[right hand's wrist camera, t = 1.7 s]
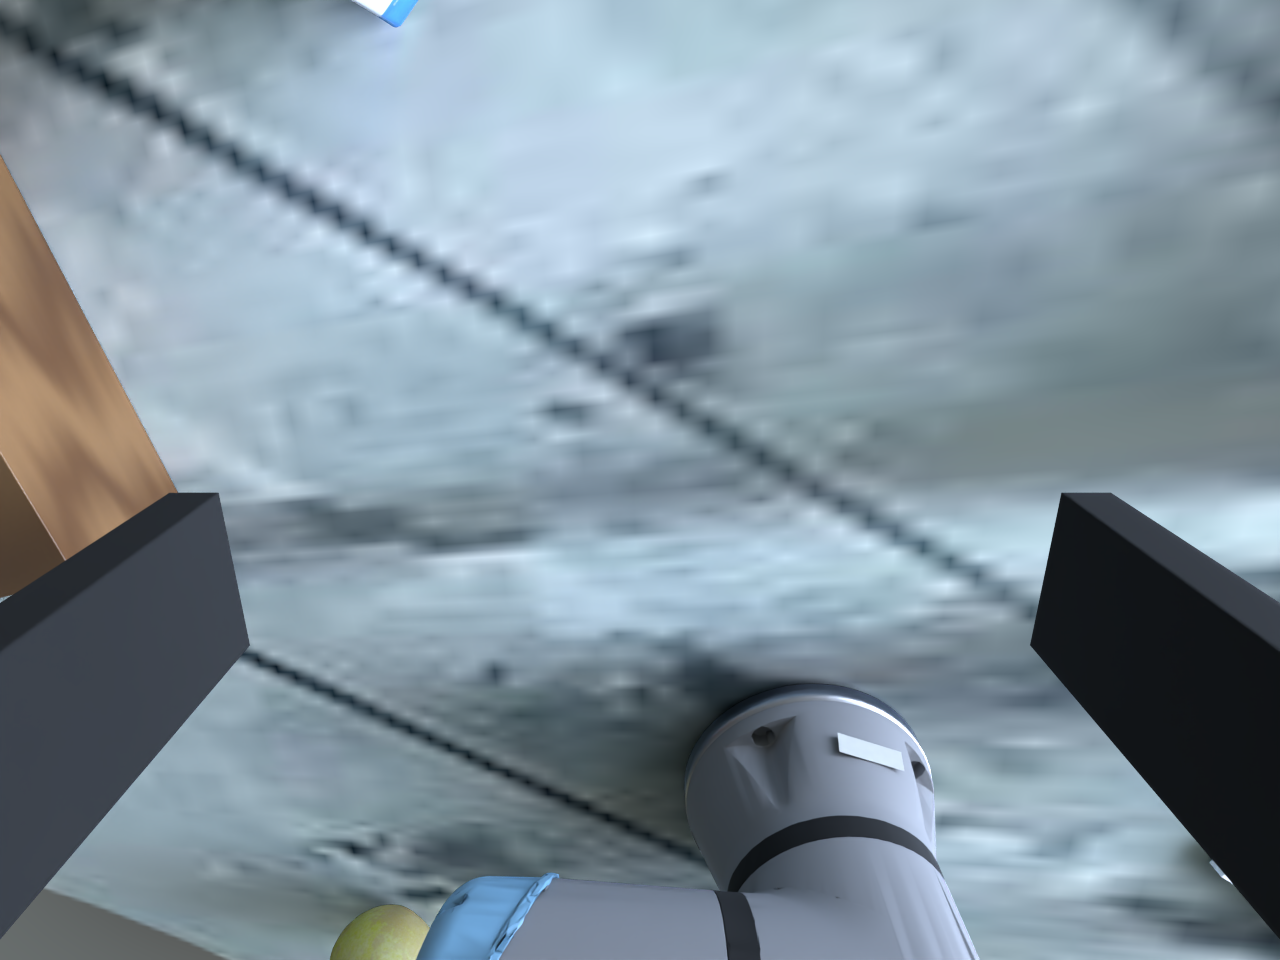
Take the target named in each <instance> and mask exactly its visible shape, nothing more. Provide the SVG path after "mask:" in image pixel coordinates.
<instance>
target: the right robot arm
mask: <svg viewBox="0 0 1280 960" xmlns="http://www.w3.org/2000/svg"><path fill="white" fill-rule="evenodd" d="M249 646H250V644H249V639H248V634H247V629H246V624H245V619H244V614H243V610H242V605H241V600H240V595H239V590H238V585H237V580H236V576H235V571H234V566H233V561H232V556H231V551H230V546H229V542H228V537H227V532H226V527H225V522H224V517H223V512H222V508H221V503H220V498H219V493H168V494H167V495H165V496H164V497H162V498H161V499H159V500H157V501H156V502H154V503H153V504H151V505H150V506H148V507H147V508H145V509H144V510H142V511H141V512H139V513H138V514H136V515H134V516H133V517H131V518H130V519H128V520H127V521H125V522H124V523H122V524H121V525H119V526H118V527H116V528H115V529H113V530H111V531H110V532H108V533H107V534H105V535H104V536H102V537H101V538H99V539H98V540H96V541H95V542H93V543H92V544H90V545H88V546H87V547H85V548H84V549H82V550H81V551H79V552H78V553H76V554H75V555H73V556H72V557H70V558H69V559H67V560H65V561H64V562H62V563H61V564H59V565H58V566H56V567H55V568H53V569H52V570H50V571H49V572H47V573H46V574H44V575H42V576H41V577H39V578H38V579H36V580H35V581H33V582H32V583H30V584H29V585H27V586H26V587H24V588H23V589H21V590H20V591H18V592H16V593H15V594H13V595H12V596H10V597H9V598H7V599H6V600H4V601H3V602H1V603H0V939H1V938H2V936H3V935H4V934H5V933H6V932H7V931H8V929H9V928H10V927H11V926H12V925H13V924H14V922H15V921H16V920H17V919H18V918H19V916H20V915H21V914H22V913H23V912H24V911H25V909H26V908H27V907H28V906H29V905H30V903H31V902H32V901H33V900H34V899H35V898H36V896H37V895H38V894H39V893H40V892H41V890H42V889H43V888H44V887H45V886H46V885H47V883H48V882H49V881H50V880H51V879H52V878H53V876H54V875H55V874H56V873H57V872H58V871H59V869H60V868H61V867H62V866H63V865H64V863H65V862H66V861H67V860H68V859H69V858H70V856H71V855H72V854H73V853H74V852H75V850H76V849H77V848H78V847H79V846H80V845H81V843H82V842H83V841H84V840H85V839H86V838H87V836H88V835H89V834H90V833H91V832H92V830H93V829H94V828H95V827H96V826H97V825H98V823H99V822H100V821H101V820H102V819H103V818H104V816H105V815H106V814H107V813H108V812H109V810H110V809H111V808H112V807H113V806H114V805H115V803H116V802H117V801H118V800H119V799H120V797H121V796H122V795H123V794H124V793H125V792H126V790H127V789H128V788H129V787H130V786H131V785H132V783H133V782H134V781H135V780H136V779H137V777H138V776H139V775H140V774H141V773H142V772H143V770H144V769H145V768H146V767H147V766H148V765H149V763H150V762H151V761H152V760H153V759H154V757H155V756H156V755H157V754H158V753H159V752H160V750H161V749H162V748H163V747H164V746H165V744H166V743H167V742H168V741H169V740H170V739H171V737H172V736H173V735H174V734H175V733H176V732H177V730H178V729H179V728H180V727H181V726H182V724H183V723H184V722H185V721H186V720H187V719H188V717H189V716H190V715H191V714H192V713H193V712H194V710H195V709H196V708H197V707H198V706H199V704H200V703H201V702H202V701H203V700H204V699H205V697H206V696H207V695H208V694H209V693H210V691H211V690H212V689H213V688H214V687H215V686H216V684H217V683H218V682H219V681H220V680H221V679H222V677H223V676H224V675H225V674H226V673H227V671H228V670H229V669H230V668H231V667H232V666H233V664H234V663H235V662H236V661H237V660H238V659H239V657H240V656H241V655H242V654H243V653H244V651H245V650H246V649H247V648H248V647H249ZM1030 646H1031V647H1032V648H1033V649H1034V650H1035V651H1036V653H1037V654H1038V655H1039V656H1040V657H1041V659H1042V660H1043V661H1044V662H1045V663H1046V664H1047V666H1048V667H1049V668H1050V669H1051V670H1052V671H1053V673H1054V674H1055V675H1056V676H1057V677H1058V679H1059V680H1060V681H1061V682H1062V683H1063V684H1064V686H1065V687H1066V688H1067V689H1068V690H1069V691H1070V693H1071V694H1072V695H1073V696H1074V697H1075V699H1076V700H1077V701H1078V702H1079V703H1080V704H1081V706H1082V707H1083V708H1084V709H1085V710H1086V712H1087V713H1088V714H1089V715H1090V716H1091V717H1092V719H1093V720H1094V721H1095V722H1096V723H1097V724H1098V726H1099V727H1100V728H1101V729H1102V730H1103V732H1104V733H1105V734H1106V735H1107V736H1108V737H1109V739H1110V740H1111V741H1112V742H1113V743H1114V744H1115V746H1116V747H1117V748H1118V749H1119V750H1120V752H1121V753H1122V754H1123V755H1124V756H1125V757H1126V759H1127V760H1128V761H1129V762H1130V763H1131V765H1132V766H1133V767H1134V768H1135V769H1136V770H1137V772H1138V773H1139V774H1140V775H1141V776H1142V777H1143V779H1144V780H1145V781H1146V782H1147V783H1148V785H1149V786H1150V787H1151V788H1152V789H1153V790H1154V792H1155V793H1156V794H1157V795H1158V796H1159V797H1160V799H1161V800H1162V801H1163V802H1164V803H1165V805H1166V806H1167V807H1168V808H1169V809H1170V810H1171V812H1172V813H1173V814H1174V815H1175V816H1176V818H1177V819H1178V820H1179V821H1180V822H1181V823H1182V825H1183V826H1184V827H1185V828H1186V829H1187V830H1188V832H1189V833H1190V834H1191V835H1192V836H1193V838H1194V839H1195V840H1196V841H1197V842H1198V843H1199V845H1200V846H1201V847H1202V848H1203V849H1204V850H1205V852H1206V853H1207V854H1208V855H1209V856H1210V858H1211V859H1212V860H1213V861H1214V862H1215V863H1216V865H1217V866H1218V867H1219V868H1220V869H1221V871H1222V872H1223V873H1224V874H1225V875H1226V876H1227V878H1228V879H1229V880H1230V881H1231V882H1232V883H1233V885H1234V886H1235V887H1236V888H1237V889H1238V891H1239V892H1240V893H1241V894H1242V895H1243V896H1244V898H1245V899H1246V900H1247V901H1248V902H1249V903H1250V905H1251V906H1252V907H1253V908H1254V909H1255V911H1256V912H1257V913H1258V914H1259V915H1260V916H1261V918H1262V919H1263V920H1264V921H1265V922H1266V924H1267V925H1268V926H1269V927H1270V928H1271V929H1272V931H1273V932H1274V933H1275V934H1276V935H1277V936H1278V938H1279V939H1280V603H1279V602H1277V601H1276V600H1274V599H1273V598H1271V597H1270V596H1268V595H1267V594H1265V593H1264V592H1262V591H1260V590H1259V589H1257V588H1256V587H1254V586H1253V585H1251V584H1250V583H1248V582H1247V581H1245V580H1244V579H1242V578H1241V577H1239V576H1237V575H1236V574H1234V573H1233V572H1231V571H1230V570H1228V569H1227V568H1225V567H1224V566H1222V565H1221V564H1219V563H1218V562H1216V561H1215V560H1213V559H1211V558H1210V557H1208V556H1207V555H1205V554H1204V553H1202V552H1201V551H1199V550H1198V549H1196V548H1195V547H1193V546H1192V545H1190V544H1188V543H1187V542H1185V541H1184V540H1182V539H1181V538H1179V537H1178V536H1176V535H1175V534H1173V533H1172V532H1170V531H1169V530H1167V529H1165V528H1164V527H1162V526H1161V525H1159V524H1158V523H1156V522H1155V521H1153V520H1152V519H1150V518H1149V517H1147V516H1146V515H1144V514H1142V513H1141V512H1139V511H1138V510H1136V509H1135V508H1133V507H1132V506H1130V505H1129V504H1127V503H1126V502H1124V501H1123V500H1121V499H1119V498H1118V497H1116V496H1115V495H1113V494H1112V493H1061V498H1060V503H1059V508H1058V512H1057V517H1056V522H1055V527H1054V532H1053V537H1052V542H1051V546H1050V551H1049V556H1048V561H1047V566H1046V571H1045V576H1044V580H1043V585H1042V590H1041V595H1040V600H1039V605H1038V610H1037V614H1036V619H1035V624H1034V629H1033V634H1032V639H1031V644H1030ZM684 791H685V805H686V815H687V820H688V823H689V826H690V829H691V832H692V835H693V838H694V840H695V842H696V844H697V846H698V848H699V849H700V851H701V853H702V855H703V857H704V859H705V861H706V863H707V865H708V868H709V870H710V872H711V874H712V876H713V878H714V880H715V882H716V884H717V886H718V888H719V890H720V891H714V890H704V889H690V888H677V887H664V886H652V885H639V884H626V883H613V882H601V881H588V880H575V879H563V878H559V874H556V873H546V874H544V875H543V876H542V877H508V876H484V877H479V878H475V879H472V880H470V881H468V882H466V883H465V884H463V885H462V886H460V887H459V888H458V889H457V890H456V891H455V892H453V893H452V894H451V896H450V897H449V898H448V899H447V900H446V902H445V903H444V904H443V906H442V908H441V909H440V911H439V912H438V914H437V916H436V918H435V920H434V921H433V923H432V925H431V927H430V929H429V931H428V933H427V935H426V937H425V940H424V942H423V944H422V946H421V949H420V951H419V953H418V956H417V958H416V960H980V959H979V957H978V955H977V952H976V950H975V948H974V946H973V943H972V941H971V939H970V936H969V934H968V932H967V930H966V927H965V925H964V923H963V920H962V918H961V916H960V914H959V911H958V909H957V907H956V904H955V902H954V900H953V897H952V895H951V893H950V891H949V888H948V886H947V884H946V882H945V879H944V877H943V875H942V872H941V870H940V868H939V865H938V863H937V860H936V838H935V809H934V789H933V782H932V776H931V771H930V767H929V764H928V761H927V759H926V757H925V754H924V752H923V750H922V748H921V746H920V744H919V742H918V740H917V738H916V736H915V734H914V732H913V731H912V729H911V728H910V726H909V725H908V724H907V723H906V721H905V720H904V719H903V718H902V717H901V716H900V715H899V714H898V713H897V712H896V711H894V710H893V709H892V708H891V707H889V706H888V705H886V704H885V703H883V702H882V701H880V700H878V699H876V698H874V697H872V696H870V695H868V694H866V693H863V692H860V691H858V690H854V689H850V688H847V687H842V686H836V685H828V684H797V685H790V686H784V687H780V688H775V689H771V690H768V691H765V692H762V693H759V694H757V695H754V696H752V697H749V698H748V699H746V700H744V701H742V702H740V703H738V704H736V705H735V706H733V707H731V708H730V709H728V710H727V711H726V712H724V713H723V714H722V715H720V716H719V717H718V718H717V719H716V720H715V721H714V722H713V723H712V724H711V725H710V726H709V727H708V728H707V729H706V730H705V731H704V733H703V734H702V735H701V737H700V738H699V739H698V741H697V743H696V745H695V746H694V748H693V750H692V752H691V755H690V757H689V760H688V763H687V766H686V771H685V779H684Z"/></svg>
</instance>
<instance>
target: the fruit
mask: <svg viewBox="0 0 1280 960" xmlns="http://www.w3.org/2000/svg"><path fill="white" fill-rule="evenodd" d="M429 929H430V928H429V926H428V925H427V924H426V923H425V922H424V921H423V920H422V919H421V918H420V917H419V916H418V915H417V914H415V913H414V912H413V911H411V910H410V909H408V908H406V907H404V906H400V905H382V906H378V907H375V908H372V909H370V910H368V911H366V912H364V913H362V914H361V915H359V916H358V917H356V918H355V919H354V920H353V921H352V922H351V923H350V924H349V925H348V926H347V927H346V928H345V929H344V930H343V931H342V933H341V934H340V936H339V938H338V939H337V941H336V943H335V945H334V947H333V950H332V953H331V957H330V960H416V958H417V956H418V953H419V951H420V949H421V946H422V944H423V942H424V940H425V937H426V935H427V933H428V931H429Z"/></svg>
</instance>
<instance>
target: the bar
mask: <svg viewBox="0 0 1280 960" xmlns="http://www.w3.org/2000/svg"><path fill="white" fill-rule="evenodd" d="M168 493H178V492H177V490H176V488H175V486H174V484H173V483H172V481H171V479H170V477H169V475H168V473H167V471H166V469H165V467H164V465H163V463H162V462H161V460H160V458H159V456H158V454H157V452H156V450H155V448H154V446H153V444H152V443H151V441H150V439H149V437H148V435H147V433H146V431H145V429H144V427H143V425H142V424H141V422H140V420H139V418H138V416H137V414H136V412H135V410H134V408H133V406H132V404H131V403H130V401H129V399H128V397H127V395H126V393H125V391H124V389H123V387H122V385H121V384H120V382H119V380H118V378H117V376H116V374H115V372H114V370H113V368H112V366H111V364H110V363H109V361H108V359H107V357H106V355H105V353H104V351H103V349H102V347H101V345H100V344H99V342H98V340H97V338H96V336H95V334H94V332H93V330H92V328H91V326H90V325H89V323H88V321H87V319H86V317H85V315H84V313H83V311H82V309H81V307H80V305H79V304H78V302H77V300H76V298H75V296H74V294H73V292H72V290H71V288H70V286H69V285H68V283H67V281H66V279H65V277H64V275H63V273H62V271H61V269H60V267H59V265H58V264H57V262H56V260H55V258H54V256H53V254H52V252H51V250H50V248H49V246H48V245H47V243H46V241H45V239H44V237H43V235H42V233H41V231H40V229H39V227H38V226H37V224H36V222H35V220H34V218H33V216H32V214H31V212H30V210H29V208H28V206H27V205H26V203H25V201H24V199H23V197H22V195H21V193H20V191H19V189H18V187H17V186H16V184H15V182H14V180H13V178H12V176H11V174H10V172H9V170H8V168H7V166H6V165H5V163H4V161H3V159H2V157H1V155H0V598H1V597H5V596H9V595H13V594H15V593H16V592H18V591H20V590H21V589H23V588H24V587H26V586H27V585H29V584H30V583H32V582H33V581H35V580H36V579H38V578H39V577H41V576H42V575H44V574H46V573H47V572H49V571H50V570H52V569H53V568H55V567H56V566H58V565H59V564H61V563H62V562H64V561H65V560H67V559H69V558H70V557H72V556H73V555H75V554H76V553H78V552H79V551H81V550H82V549H84V548H85V547H87V546H88V545H90V544H92V543H93V542H95V541H96V540H98V539H99V538H101V537H102V536H104V535H105V534H107V533H108V532H110V531H111V530H113V529H115V528H116V527H118V526H119V525H121V524H122V523H124V522H125V521H127V520H128V519H130V518H131V517H133V516H134V515H136V514H138V513H139V512H141V511H142V510H144V509H145V508H147V507H148V506H150V505H151V504H153V503H154V502H156V501H157V500H159V499H161V498H162V497H164V496H165V495H167V494H168Z"/></svg>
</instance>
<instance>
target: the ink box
mask: <svg viewBox="0 0 1280 960" xmlns="http://www.w3.org/2000/svg"><path fill="white" fill-rule="evenodd" d="M351 1H353V2H354V3H356V4H358V5H359V6H361V7H363V8H364V9H366V10H368V11H369V12H371V13H373V14H374V15H376V16H378V17H379V18H381V19H382V20H384V21H385V22H387V23H388V24H390V25H391V26H393V27H398V26H400V25H401V24H402V23H403V22H404V20H405V19H406V17H407V16H408V14H409V13H410V11H411V10H412V8H413V7H414V5H415V4H416V3H417V1H418V0H351Z"/></svg>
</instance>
